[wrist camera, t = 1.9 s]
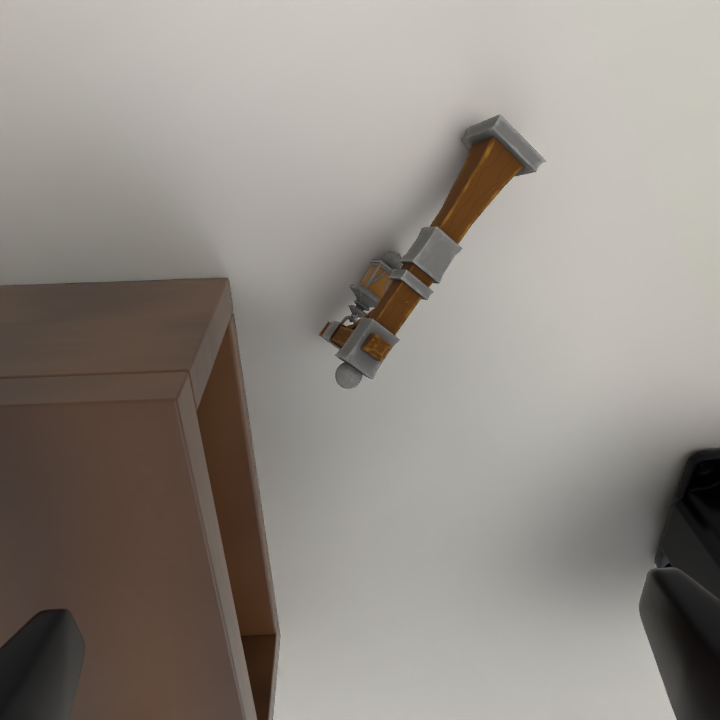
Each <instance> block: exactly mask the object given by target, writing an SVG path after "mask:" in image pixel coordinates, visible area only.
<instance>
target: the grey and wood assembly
mask: <svg viewBox="0 0 720 720" xmlns="http://www.w3.org/2000/svg"><path fill="white" fill-rule="evenodd" d="M461 140H462V141H463V142H464V143H465V144H466V145H467V146H468V147H469V148H470V151H469V154H468V156H467V159H466V161H465V164H464V166H463V168H462V170H461V172H460V174H459V176H458V178H457V180H456V182H455V184H454V185H453V187H452V189H451V191H450V193H449V195H448V197H447V199H446V201H445V203H444V205H443V207H442V208H441V210H440V212H439V213H438V215H437V216H436V218H435V219H434V221H433V222H432V224H431V225H430V227H424V228H422V229H421V232H420V234H419V236H418V238H417V239H416V241H415V242H414V244H413V245H412V246H411V248H410V249H409V251H408V252H407V254H405V255H404V256H403V257H402V258H401V256H400V255H399V254H398V253H396V252H389V253H387V254H386V255H385V256H384V257H383V259H382V261H381V260H371V261H370V262H371V264H370V267H369V269H368V271H367V272H366V274H365V276H364V277H363V279H362V281H361V282H360V284H359V285H358V286H356V285H351V286H350V288H351V289H352V291H353V292H354V294H355V296H356V298H357V300H356V301H354V302H355V304H356V305H357V306H354V305H348V306H349V308H350V310H351V312H352V314H351V316H348V317H345V318H344V319H343V320H342V321H341V323H340V322H336V321H333V322H331V323H330V322H328V323H327V324H326V326H325V327H324V328H323V330H322V331H321V333H320V334H319V335H320V336H321V337H322V338H324V339H325V340H327V341H328V342H329V343H331V344H332V345H334V346H335V347H337V348H338V349H339V351H338V352H337V353H336V354H335V356H337V357H338V358H339V359H341V360H342V361H344V362H345V363H342V364H341V365H340V366H339V367H338V368H337V370H336V373H335V378H336V381H337V383H338V384H339V385H340V386H341V387H343V388H347V389H348V388H353V387H355V386H357V385H358V384H359V383H360V381H361V378H362V375H364V376H366V377H368V378H371V379H373V377H374V375H375V373H376V370H377V369H378V368H379V366H380V365H381V363H382V362H383V360H384V359H385V357H386V356H387V354H388V353H389V351H390V350H391V349H392V347H393V346H394V345H395V344H396V343H397V342H398V341H399V340H400V339H398V338H397V337H396V336H395V334H396V333H397V332H398V330H399V329H400V327H401V326H402V324H403V323H404V322H405V320H406V319H407V317H408V316H409V315H410V313H411V312H412V310H413V309H414V308H415V306H416V305H417V303H418V302H419V301H420V299H425V300H428V298H429V295H430V294H431V293H433V291H432V290H431V289H430V288H429V287H430V285H431V284H432V283H440V281H441V278H442V275H443V273H444V272H445V270H446V269H447V267H448V266H449V264H450V263H451V261H452V260H453V258H454V257H455V255H456V254H457V253H458V252H459V251H460V250H461V249H462V248H461V247H460V246H459V245H458V244H459V242H460V241H461V239H462V238H463V237H464V235H465V234H466V232H467V231H468V229H469V228H470V227H471V225H472V224H473V223H474V221H475V220H476V219H477V218H478V217H479V216H480V214H481V213H482V212H483V211H484V210H485V208H486V207H487V206H488V205H489V204H490V203H491V201H492V200H493V199H494V198H495V197H496V195H497V194H498V193H499V192H500V191H501V189H502V188H503V187H504V186H505V185H506V184H507V183H508V182H509V181H510V180H511V179H512V178H513V177H514V176H519V175H523V174H528V173H532V172H536V171H537V168H538V167H539V166H540V164H541V163H543V162H546V160H545V159H544V158H543V157H542V156H541V155H540V154H539V153H538V152H537V151H536V150H535V149H534V148H533V147H532V146H531V145H530V144H529V143H528V142H527V141H526V140H525V139H524V138H523V137H522V136H521V135H520V134H519V133H518V132H517V131H516V130H515V129H514V128H513V127H512V126H511V125H510V124H509V123H508V122H507V121H506V120H505V119H504V118H503V117H502V116H501V115H497V116H495V117H493V118H490V119H488V120H485V121H483V122H481V123H478V124H476V125H474V126H471V127H469V128H467V133H466V135H465V137H464V138H463V139H461ZM402 264H403V266H402ZM401 266H402V267H401ZM400 268H401V269H400ZM369 307H375V308H374V309H373V310H372V311H370V312H369V313H368V314H366V313H365V312H363V311H364V310H367V311H369ZM354 315H355V316H354ZM353 316H354V317H353ZM357 317H361V319H359V320H358V321H357V322H356V320H355V319H356V318H357ZM347 319H349V321H350V322H354V324H353V325H349V326H344V325H343V323H344V322H345V321H346V320H347Z"/></svg>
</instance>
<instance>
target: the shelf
mask: <svg viewBox="0 0 720 720" xmlns="http://www.w3.org/2000/svg"><path fill="white" fill-rule="evenodd" d="M232 312H233V306H232V299H231V292H230V285H229V280H228V278H211V279H183V280H154V281H126V282H98V283H70V284H42V285H14V286H0V647H2V646H3V645H4V644H5V643H6V642H7V641H8V640H9V639H10V638H11V637H12V636H13V635H14V634H15V633H16V632H17V631H18V630H19V629H20V628H22V627H23V626H24V625H25V624H26V623H27V622H28V621H29V620H30V619H31V618H32V617H33V616H34V615H35V614H37V613H38V612H40V611H42V610H47V609H62V608H65V609H68V610H69V611H70V612H71V613H72V615H73V617H74V619H75V622H76V624H77V626H78V628H79V630H80V632H81V634H82V636H83V639H84V642H85V656H84V661H83V665H82V669H81V673H80V678H79V682H78V686H77V690H76V694H75V699H74V703H73V707H72V711H71V716H70V720H273V714H274V702H275V691H276V680H277V669H278V657H279V646H280V630H279V623H278V617H277V610H276V603H275V597H274V590H273V583H272V576H271V569H270V562H269V555H268V548H267V541H266V534H265V527H264V520H263V513H262V507H261V500H260V493H259V486H258V479H257V472H256V465H255V458H254V451H253V444H252V437H251V430H250V423H249V417H248V410H247V403H246V396H245V389H244V382H243V375H242V368H241V361H240V354H239V347H238V340H237V333H236V327H235V320H234V314H233V313H232Z"/></svg>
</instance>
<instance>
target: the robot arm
mask: <svg viewBox="0 0 720 720" xmlns="http://www.w3.org/2000/svg"><path fill="white" fill-rule="evenodd" d="M704 463H705V464H704ZM702 464H703V465H702ZM701 465H702V466H701ZM655 564H656V566H657V568H654V569H651V570H650V571H649V572H648V573H647V576H646V580H645V583H644V587H643V591H642V595H641V598H640V603H639V611H640V616H641V620H642V623H643V626H644V629H645V631H646V634H647V637H648V640H649V643H650V646H651V649H652V651H653V654H654V657H655V660H656V663H657V666H658V669H659V671H660V674H661V677H662V680H663V683H664V686H665V689H666V691H667V694H668V697H669V700H670V703H671V706H672V708H673V711H674V714H675V716H676V719H677V720H720V450H718V451H701V452H697V453H695V454H693V455H692V456H691V457H690V458H689V460H688V461H687V464H686V467H685V470H684V473H683V476H682V479H681V482H680V485H679V488H678V491H677V494H676V497H675V500H674V503H673V505H672V508H671V511H670V514H669V517H668V520H667V523H666V526H665V529H664V532H663V536H662V539H661V542H660V545H659V549H658V552H657V555H656V558H655ZM84 656H85V642H84V639H83V636H82V634H81V632H80V630H79V628H78V626H77V624H76V622H75V619H74V617H73V615H72V613H71V612H70V611H69V610H68V609H65V608H62V609H47V610H42V611H40V612H38V613H37V614H35V615H34V616H33V617H32V618H31V619H30V620H29V621H28V622H27V623H26V624H25V625H24V626H23V627H22V628H20V629H19V630H18V631H17V632H16V633H15V634H14V635H13V636H12V637H11V638H10V639H9V640H8V641H7V642H6V643H5V644H4V645H3V646H2V647H0V720H70V716H71V711H72V707H73V703H74V699H75V694H76V690H77V686H78V682H79V678H80V673H81V669H82V665H83V661H84Z"/></svg>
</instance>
